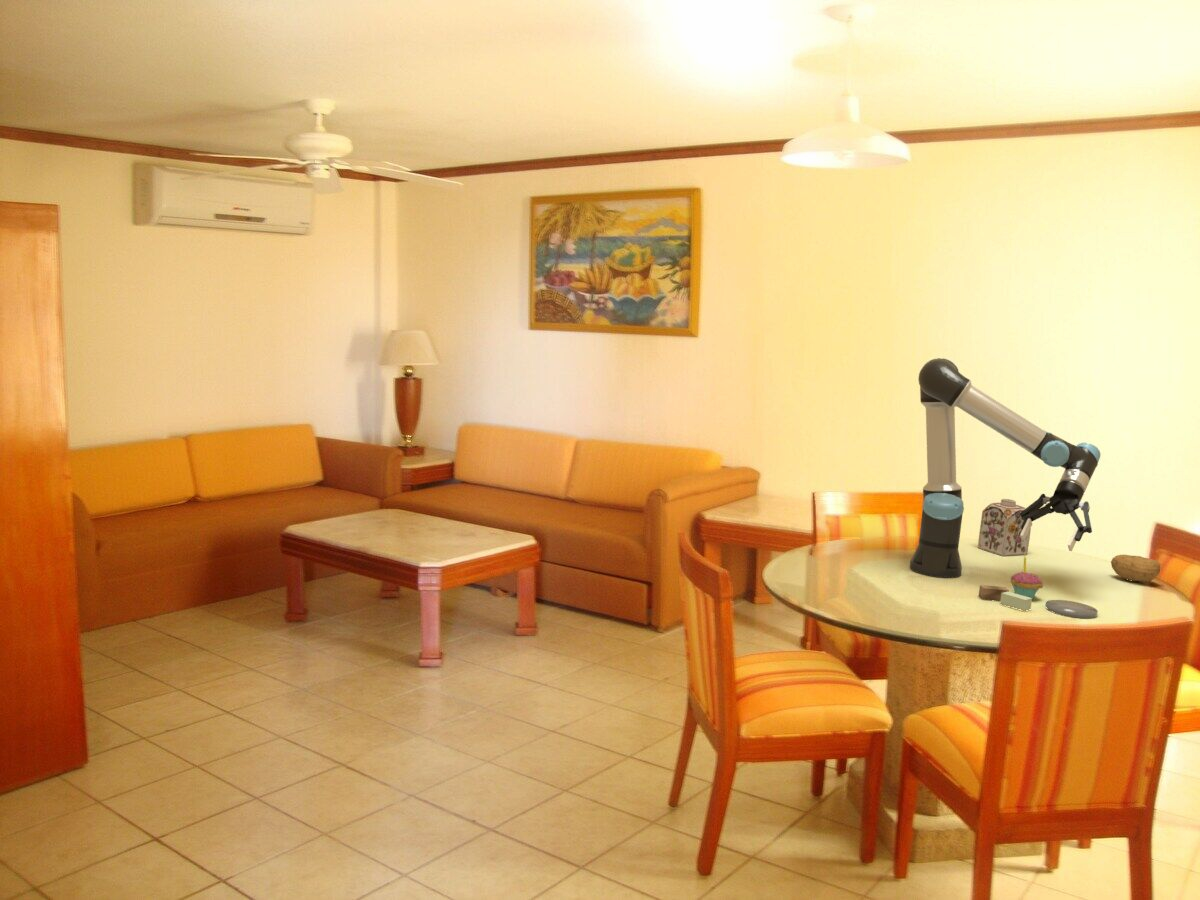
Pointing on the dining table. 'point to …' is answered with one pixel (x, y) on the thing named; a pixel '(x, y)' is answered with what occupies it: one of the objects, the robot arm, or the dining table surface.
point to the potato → (1135, 568)
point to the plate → (1071, 609)
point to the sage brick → (1016, 601)
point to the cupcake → (1026, 583)
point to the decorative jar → (1003, 529)
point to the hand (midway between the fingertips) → (1045, 543)
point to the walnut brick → (991, 592)
